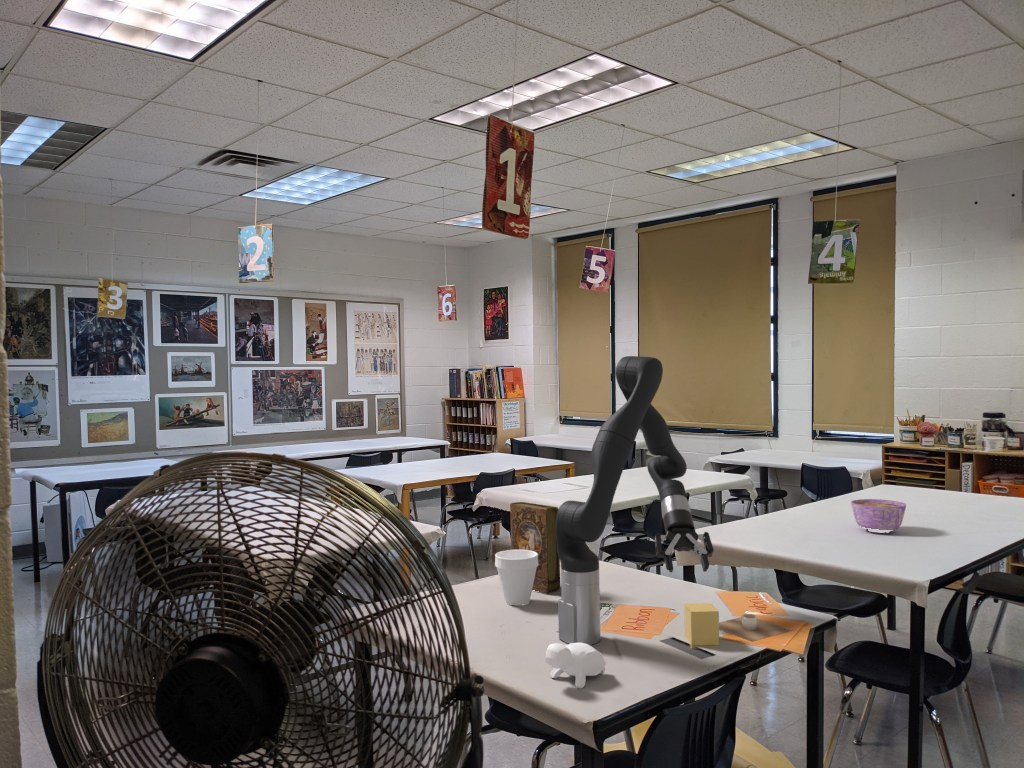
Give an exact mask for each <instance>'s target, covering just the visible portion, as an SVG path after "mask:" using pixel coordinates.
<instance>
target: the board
mask: <svg viewBox="0 0 1024 768" xmlns="http://www.w3.org/2000/svg"><path fill="white" fill-rule="evenodd" d="M719 631H722V632H725V633H728V634H730V635H733V636H735V637H739V638H740V639H744V640H747V641H750V642H756V641H759V640H763V639H766V638H770V637H774V636H777V635H781V634H784V633H789V632H792V631H793V630H792V629H790V628H787V627H783V626H780V625H777V624H774V623H772V622H769V621H766V620H762V619H759V618H757V629H756V630H746V629H743V628H742V616H740V617H736V618H731V619H728V620H724V621H719Z"/></svg>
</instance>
